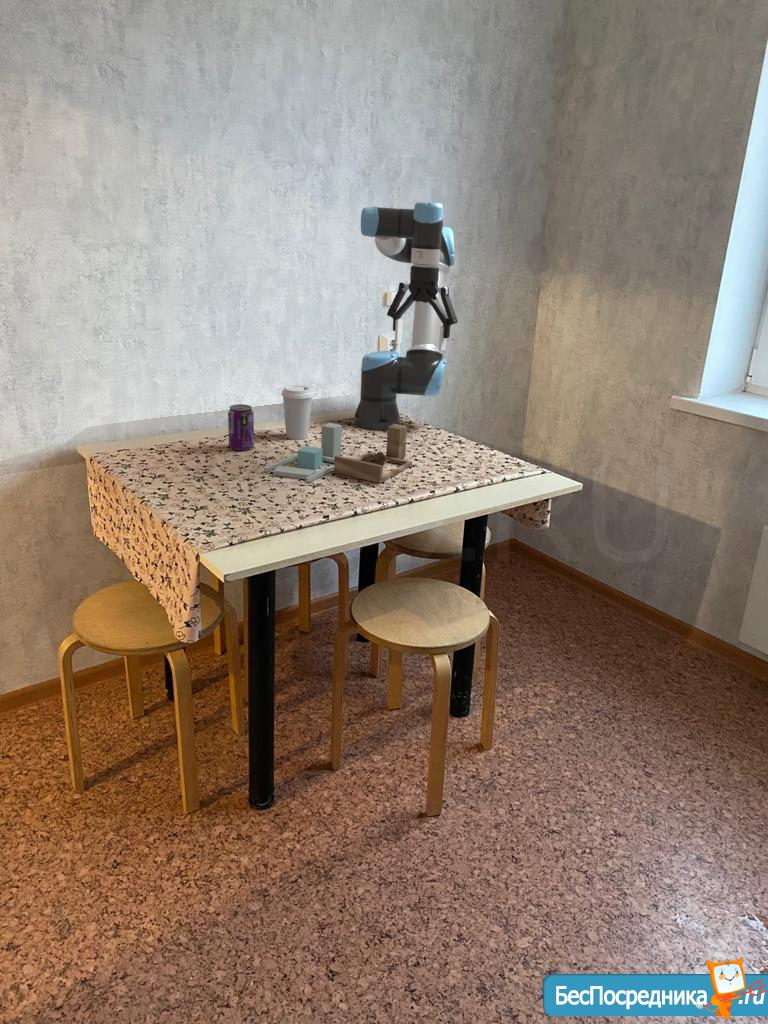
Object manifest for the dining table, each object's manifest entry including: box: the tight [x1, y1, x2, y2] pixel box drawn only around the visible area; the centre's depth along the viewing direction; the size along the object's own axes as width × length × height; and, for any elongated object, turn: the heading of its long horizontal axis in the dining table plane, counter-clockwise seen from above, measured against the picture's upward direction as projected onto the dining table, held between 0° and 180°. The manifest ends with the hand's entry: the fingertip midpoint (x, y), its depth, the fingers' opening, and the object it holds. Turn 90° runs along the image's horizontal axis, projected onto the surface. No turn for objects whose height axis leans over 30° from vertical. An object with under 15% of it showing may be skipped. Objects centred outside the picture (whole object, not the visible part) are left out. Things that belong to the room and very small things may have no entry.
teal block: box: [297, 445, 323, 471], centre depth 208 cm, size 5×5×5 cm
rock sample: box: [359, 450, 389, 467], centre depth 208 cm, size 10×8×9 cm
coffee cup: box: [281, 384, 315, 441], centre depth 231 cm, size 10×10×15 cm
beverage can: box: [227, 403, 255, 451], centre depth 219 cm, size 7×7×12 cm
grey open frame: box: [263, 422, 343, 483], centre depth 207 cm, size 24×14×9 cm, turn 151°
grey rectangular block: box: [272, 465, 316, 480], centre depth 202 cm, size 4×10×1 cm, turn 76°
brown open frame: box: [333, 424, 413, 484], centre depth 209 cm, size 24×14×9 cm, turn 151°
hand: (419, 346), depth 211 cm, fingers open, 13 cm apart
